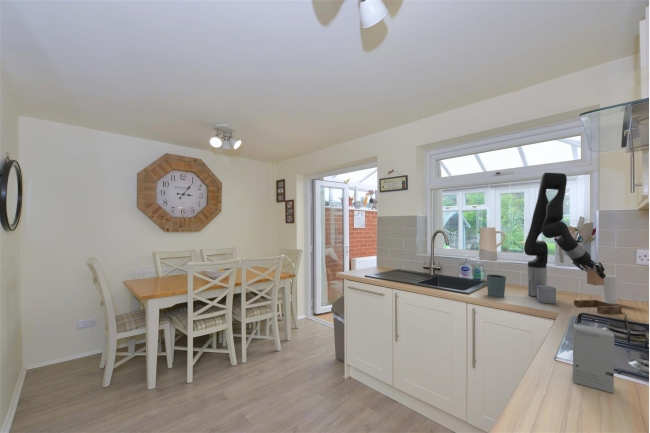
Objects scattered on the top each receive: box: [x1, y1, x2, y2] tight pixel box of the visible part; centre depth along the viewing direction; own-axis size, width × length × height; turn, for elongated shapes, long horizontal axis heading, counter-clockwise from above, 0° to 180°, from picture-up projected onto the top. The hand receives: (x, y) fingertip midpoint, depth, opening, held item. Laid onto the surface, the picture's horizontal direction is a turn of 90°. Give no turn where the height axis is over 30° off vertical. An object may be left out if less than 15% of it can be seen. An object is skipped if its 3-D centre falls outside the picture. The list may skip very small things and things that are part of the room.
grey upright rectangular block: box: [572, 323, 615, 394], centre depth 79 cm, size 8×6×15 cm
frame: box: [573, 299, 623, 314], centre depth 148 cm, size 12×13×3 cm
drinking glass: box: [600, 274, 619, 305], centre depth 160 cm, size 7×7×15 cm
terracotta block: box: [586, 267, 605, 286], centre depth 149 cm, size 4×4×9 cm
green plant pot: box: [486, 274, 507, 298], centre depth 176 cm, size 10×10×12 cm
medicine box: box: [536, 285, 557, 305], centre depth 162 cm, size 8×4×9 cm, turn 65°
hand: (598, 276), depth 149 cm, fingers closed on terracotta block, 4 cm apart
